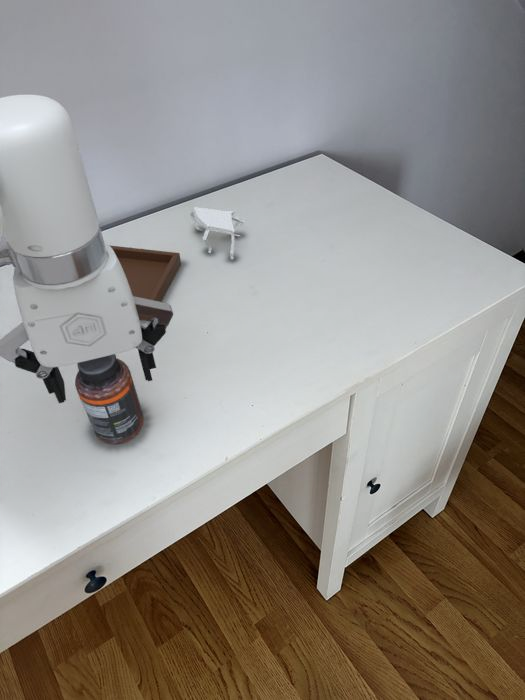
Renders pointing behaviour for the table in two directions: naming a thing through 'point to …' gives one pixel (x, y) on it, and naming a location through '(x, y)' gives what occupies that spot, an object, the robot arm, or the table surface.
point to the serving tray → (148, 272)
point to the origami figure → (216, 223)
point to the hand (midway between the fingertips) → (105, 382)
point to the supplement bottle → (109, 399)
